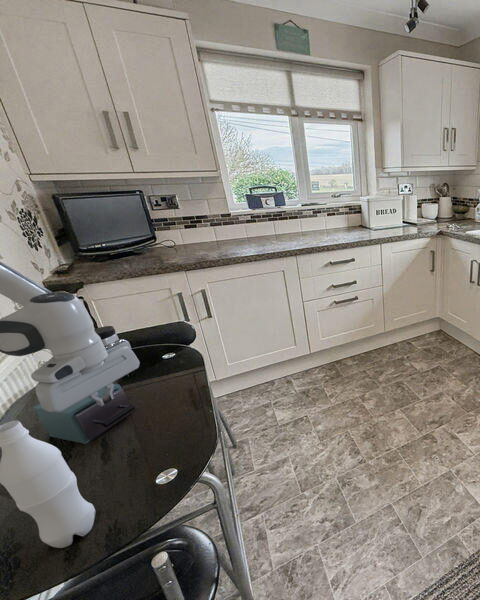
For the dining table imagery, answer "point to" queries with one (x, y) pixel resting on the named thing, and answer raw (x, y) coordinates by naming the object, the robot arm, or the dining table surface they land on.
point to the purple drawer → (103, 415)
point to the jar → (107, 334)
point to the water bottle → (43, 486)
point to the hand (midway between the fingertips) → (106, 402)
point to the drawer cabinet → (67, 419)
